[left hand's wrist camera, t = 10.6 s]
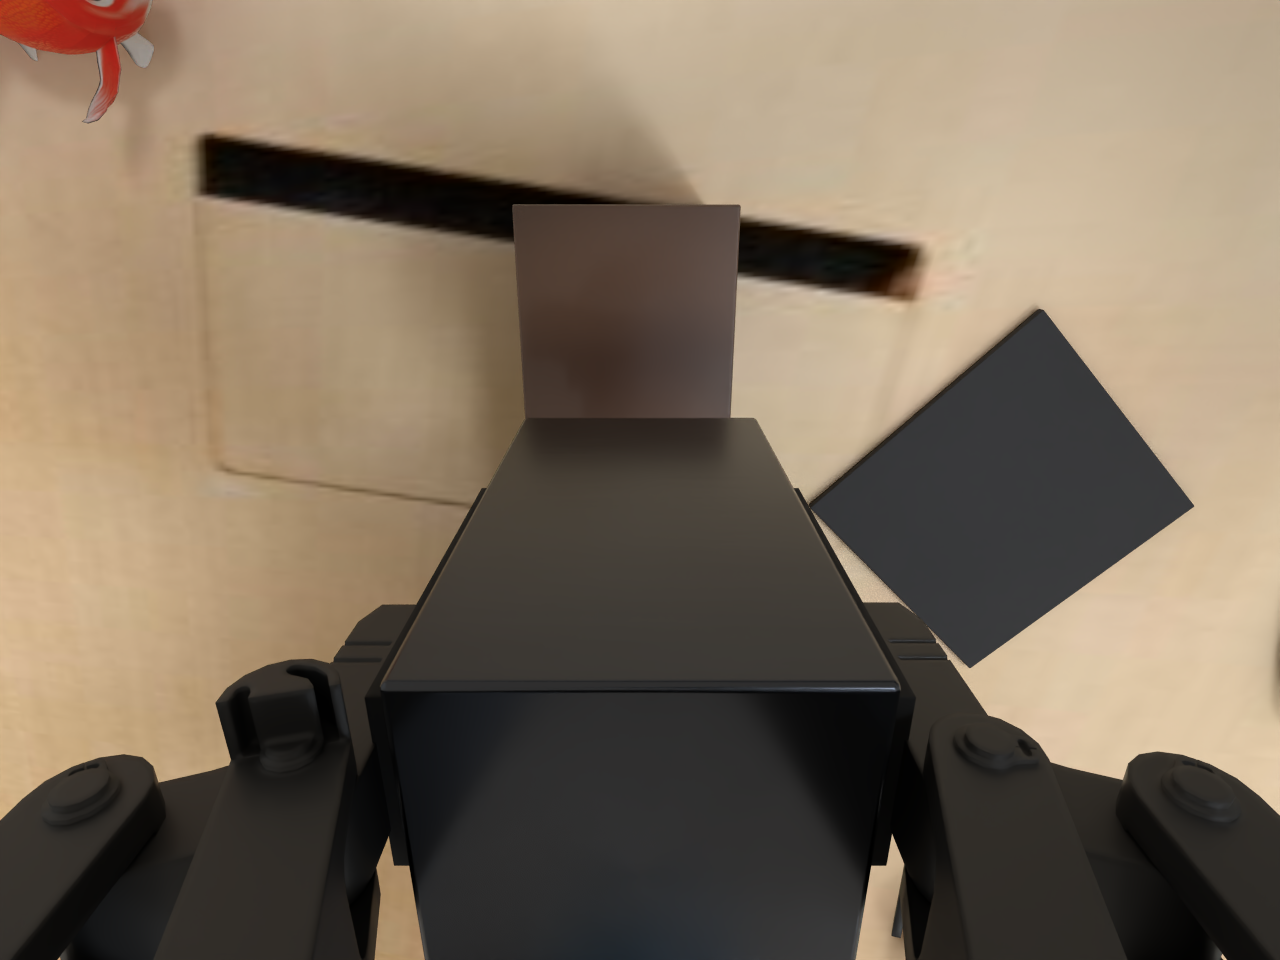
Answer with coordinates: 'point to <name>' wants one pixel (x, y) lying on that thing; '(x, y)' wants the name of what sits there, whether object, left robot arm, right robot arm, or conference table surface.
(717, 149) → the conference table surface
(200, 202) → the conference table surface
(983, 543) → the rubber mat
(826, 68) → the conference table surface
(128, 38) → the fish
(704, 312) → the walnut case
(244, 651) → the conference table surface
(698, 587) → the metal block
